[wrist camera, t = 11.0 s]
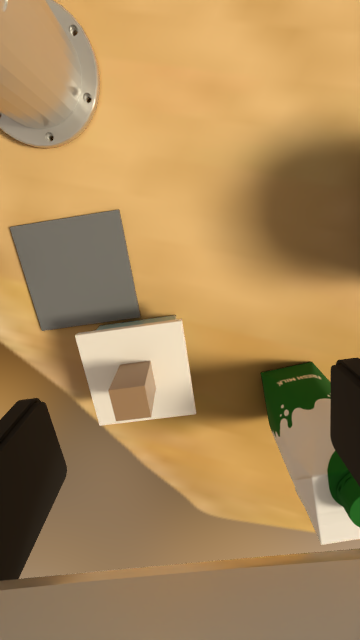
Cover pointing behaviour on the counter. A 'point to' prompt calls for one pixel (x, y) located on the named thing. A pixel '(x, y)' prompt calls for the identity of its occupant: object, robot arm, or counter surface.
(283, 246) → the counter surface
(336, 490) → the milk carton
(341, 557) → the robot arm
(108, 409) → the lid
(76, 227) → the mat
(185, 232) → the counter surface
